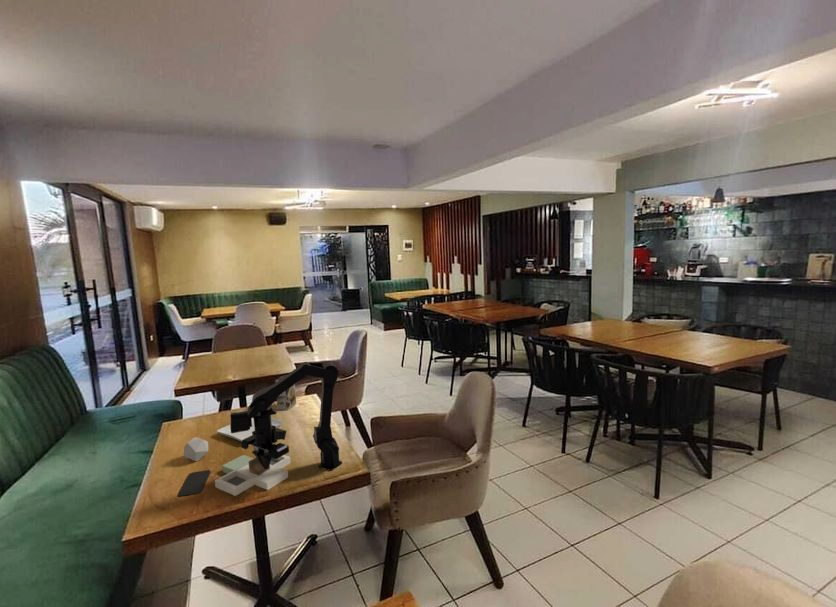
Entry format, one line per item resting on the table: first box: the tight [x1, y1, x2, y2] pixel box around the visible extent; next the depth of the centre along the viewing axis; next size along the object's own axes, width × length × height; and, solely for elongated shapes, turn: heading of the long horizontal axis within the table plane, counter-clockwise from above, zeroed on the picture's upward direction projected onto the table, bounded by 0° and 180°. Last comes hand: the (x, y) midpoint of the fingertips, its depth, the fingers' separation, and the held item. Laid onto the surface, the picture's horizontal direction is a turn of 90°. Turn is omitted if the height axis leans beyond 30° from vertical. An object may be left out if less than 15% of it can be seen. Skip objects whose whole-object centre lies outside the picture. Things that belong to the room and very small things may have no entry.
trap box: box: [214, 454, 292, 497], centre depth 149 cm, size 25×24×2 cm
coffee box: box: [275, 374, 297, 411], centre depth 214 cm, size 9×6×16 cm
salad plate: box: [216, 417, 284, 443], centre depth 185 cm, size 21×21×3 cm
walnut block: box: [249, 456, 270, 475], centre depth 147 cm, size 5×5×4 cm
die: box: [183, 436, 209, 462], centre depth 162 cm, size 8×9×10 cm
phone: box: [177, 469, 211, 498], centre depth 145 cm, size 7×1×15 cm
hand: (266, 468), depth 145 cm, fingers closed
